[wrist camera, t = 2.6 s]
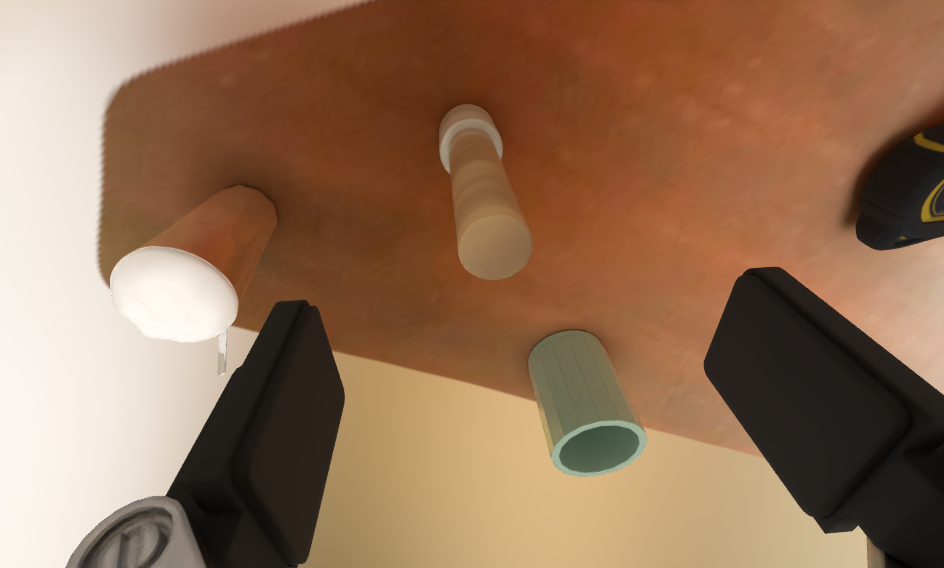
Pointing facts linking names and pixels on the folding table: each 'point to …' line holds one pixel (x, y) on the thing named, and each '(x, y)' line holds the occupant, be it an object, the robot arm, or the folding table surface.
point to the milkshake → (196, 270)
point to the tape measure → (905, 194)
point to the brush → (482, 196)
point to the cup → (583, 406)
